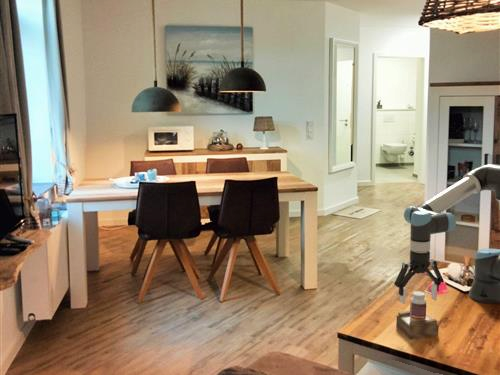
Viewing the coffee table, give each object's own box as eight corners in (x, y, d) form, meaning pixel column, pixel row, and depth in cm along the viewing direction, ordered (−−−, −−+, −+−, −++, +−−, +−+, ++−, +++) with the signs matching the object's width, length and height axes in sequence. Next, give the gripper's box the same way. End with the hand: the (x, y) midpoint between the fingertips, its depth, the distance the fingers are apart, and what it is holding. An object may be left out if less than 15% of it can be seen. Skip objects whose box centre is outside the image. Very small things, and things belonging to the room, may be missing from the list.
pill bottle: (428, 321, 216) (430, 295, 214) (414, 323, 214) (415, 297, 212) (420, 315, 222) (421, 289, 220) (406, 317, 220) (407, 291, 218)
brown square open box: (422, 323, 226) (423, 309, 225) (438, 336, 214) (438, 320, 213) (396, 326, 224) (396, 311, 222) (410, 339, 212) (410, 323, 211)
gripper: (443, 244, 219) (441, 294, 223) (386, 250, 214) (385, 300, 218) (454, 250, 212) (451, 301, 216) (395, 255, 207) (394, 307, 211)
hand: (418, 301), depth 217 cm, fingers open, 13 cm apart
